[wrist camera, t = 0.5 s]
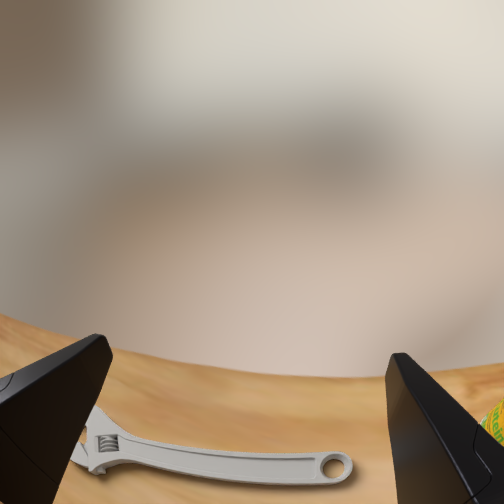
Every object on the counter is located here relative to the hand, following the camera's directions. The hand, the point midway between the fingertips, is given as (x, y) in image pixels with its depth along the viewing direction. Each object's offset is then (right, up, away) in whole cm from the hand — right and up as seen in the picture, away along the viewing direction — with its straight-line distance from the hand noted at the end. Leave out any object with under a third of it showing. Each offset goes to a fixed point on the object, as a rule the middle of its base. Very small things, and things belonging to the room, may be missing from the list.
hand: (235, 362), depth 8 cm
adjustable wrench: (-5, -14, +10) cm, 18 cm away
